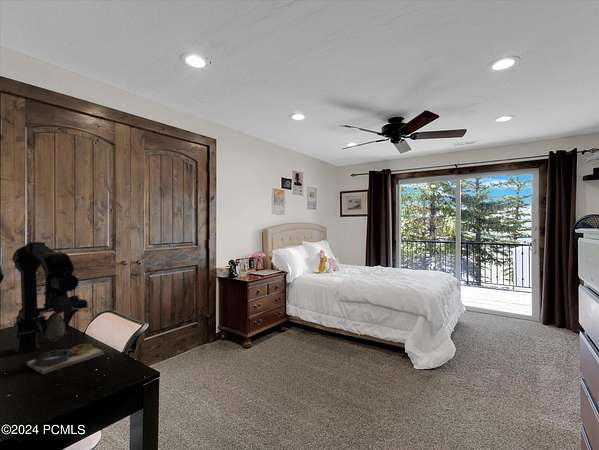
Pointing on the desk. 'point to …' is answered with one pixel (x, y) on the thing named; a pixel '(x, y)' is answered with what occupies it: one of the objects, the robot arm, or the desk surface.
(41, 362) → the collar
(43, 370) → the fitting board
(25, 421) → the desk surface
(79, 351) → the narrow collar
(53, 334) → the decorative egg
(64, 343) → the desk surface
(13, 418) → the desk surface
